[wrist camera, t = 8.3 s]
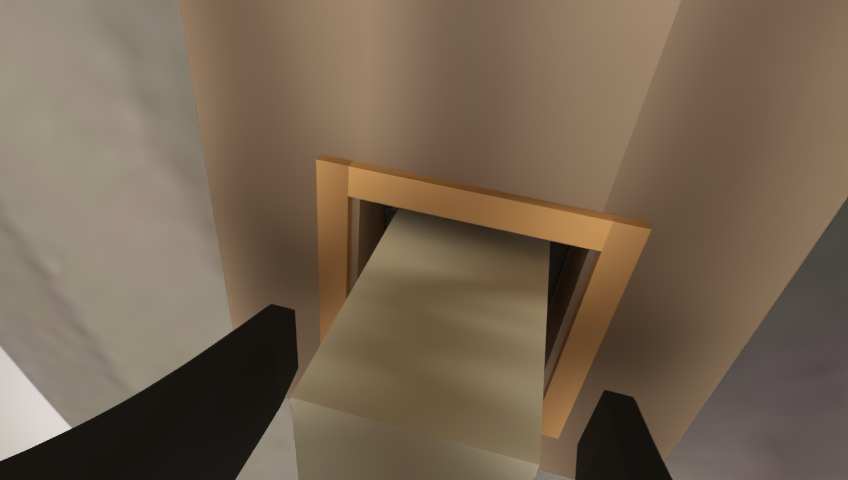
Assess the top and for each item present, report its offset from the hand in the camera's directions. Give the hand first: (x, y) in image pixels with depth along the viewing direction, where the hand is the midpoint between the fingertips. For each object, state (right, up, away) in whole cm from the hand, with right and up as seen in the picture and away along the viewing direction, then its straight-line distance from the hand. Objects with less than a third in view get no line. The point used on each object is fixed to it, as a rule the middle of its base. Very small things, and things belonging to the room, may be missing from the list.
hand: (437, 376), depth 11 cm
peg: (+1, +3, +4) cm, 5 cm away
